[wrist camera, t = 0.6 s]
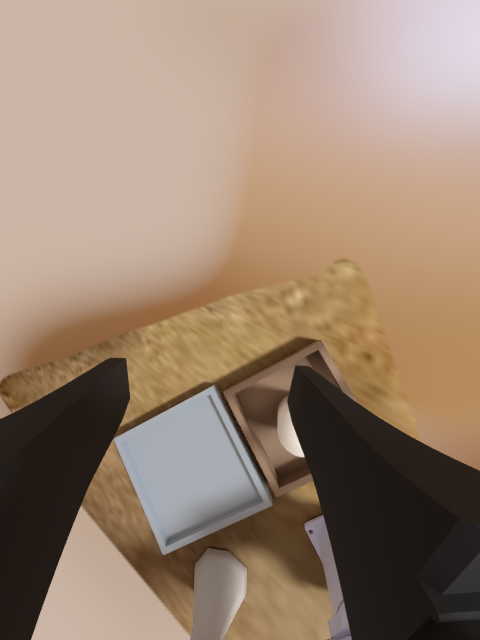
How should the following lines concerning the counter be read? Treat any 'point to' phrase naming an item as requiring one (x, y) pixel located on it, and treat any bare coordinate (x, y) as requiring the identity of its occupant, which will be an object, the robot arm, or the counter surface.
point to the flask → (217, 593)
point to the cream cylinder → (287, 430)
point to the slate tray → (192, 470)
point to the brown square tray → (262, 413)
